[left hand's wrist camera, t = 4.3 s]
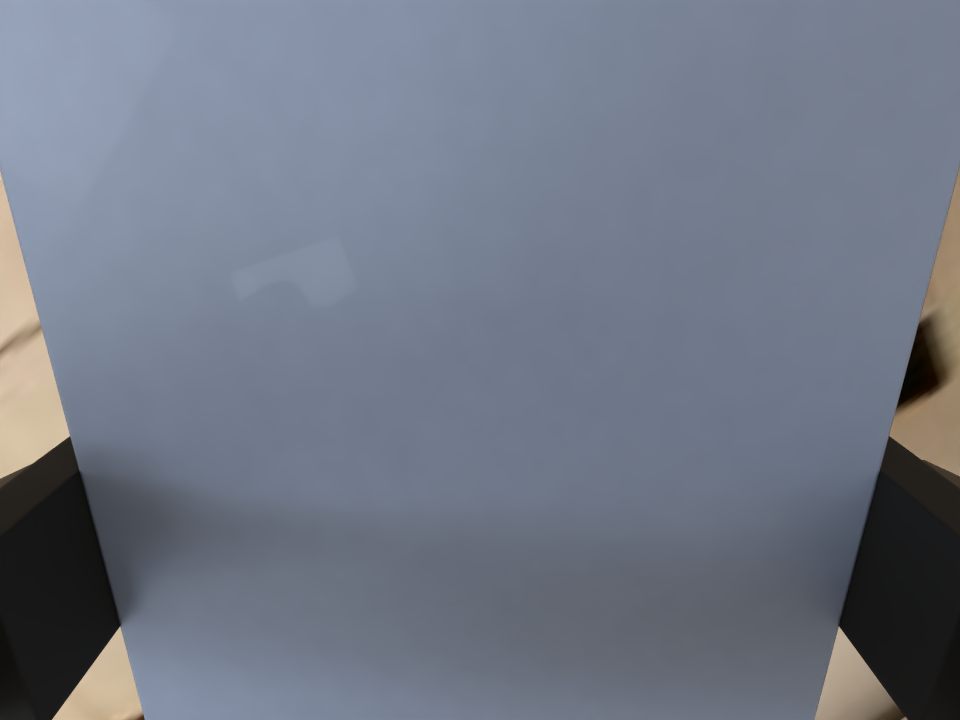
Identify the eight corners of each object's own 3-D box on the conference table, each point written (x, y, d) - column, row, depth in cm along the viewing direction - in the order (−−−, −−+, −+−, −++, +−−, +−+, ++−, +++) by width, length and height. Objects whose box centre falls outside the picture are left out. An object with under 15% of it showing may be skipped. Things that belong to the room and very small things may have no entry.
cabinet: (211, -402, 12) (-576, -1985, 3) (747, -402, 12) (1533, -1983, 3) (307, 452, 19) (148, 745, 10) (652, 452, 19) (809, 745, 10)
